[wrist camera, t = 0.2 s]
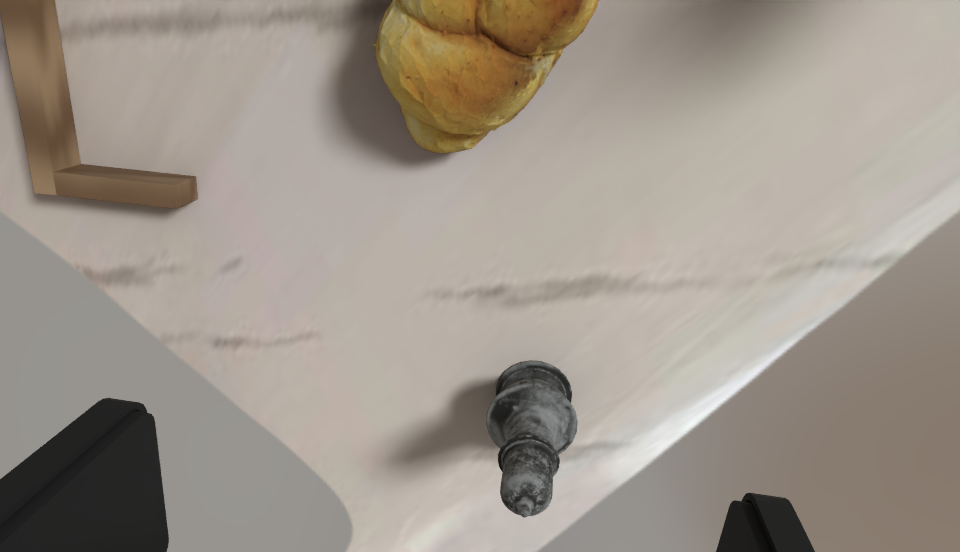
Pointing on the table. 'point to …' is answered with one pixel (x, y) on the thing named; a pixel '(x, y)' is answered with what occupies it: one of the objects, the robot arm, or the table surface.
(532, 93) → the bread roll
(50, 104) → the brown angled bar
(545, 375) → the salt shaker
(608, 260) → the table surface
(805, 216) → the table surface
